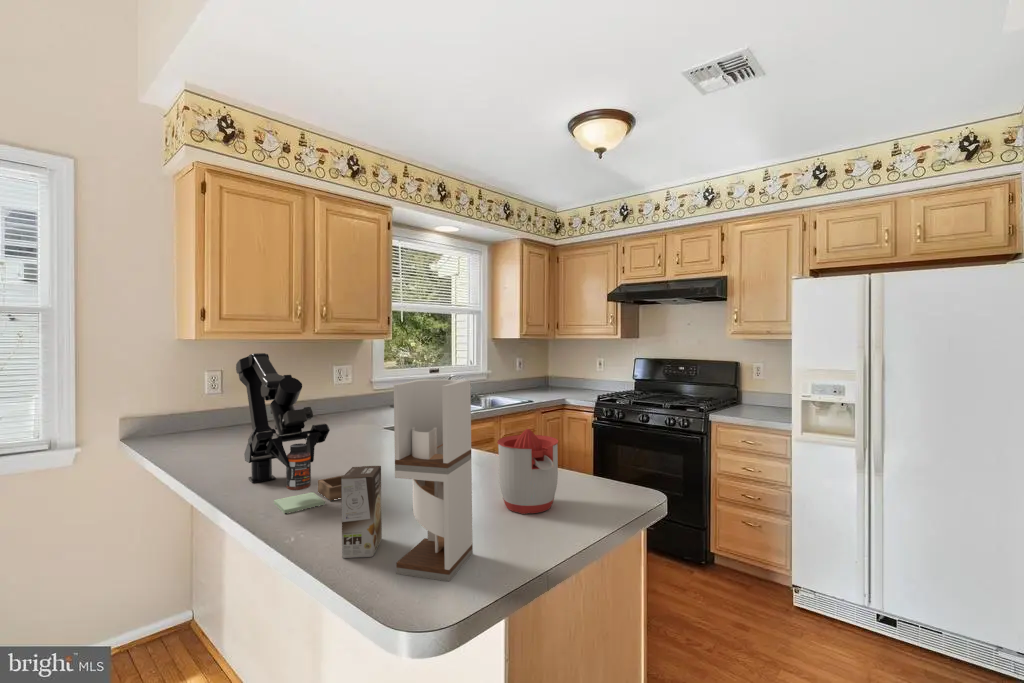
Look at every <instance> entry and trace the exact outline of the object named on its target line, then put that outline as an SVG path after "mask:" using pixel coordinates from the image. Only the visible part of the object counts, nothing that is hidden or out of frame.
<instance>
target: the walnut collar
mask: <svg viewBox="0 0 1024 683" xmlns="http://www.w3.org/2000/svg"><path fill="white" fill-rule="evenodd" d="M344 475H345V474H343V475H338V476H333V477H332V476H331V477H327V478H323V479H317V493H318V492H319V493H320V495H321V494H322V495H323V496H322V495H321V496H322V497H324V496H325V497H326V498H328V499H329V500H330V501H329V500H328V499H327V500H328V501H329V502H332V501H331V500H334V499H338V498H342V487H341V478H342V477H343V476H344ZM319 493H318V494H319ZM325 497H324V498H325ZM326 498H325V499H326ZM334 501H335V500H334Z"/></svg>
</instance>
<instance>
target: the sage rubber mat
mask: <svg viewBox="0 0 1024 683" xmlns="http://www.w3.org/2000/svg"><path fill="white" fill-rule="evenodd" d="M273 504H274V506H276V505H277V506H276V507H277V508H278V509H279V510H280V512H282V513H283V514H284V515H286V514H285V513H287V514H290V513H289V512H292V513H296V512H299V511H298V510H301V511H303V510H302V509H305V510H307V509H306V508H310V509H312V508H311V507H314V508H316V507H315V506H318V507H320V506H319V505H323V506H325V505H326V500H324V499H323V498H322V497H320V496H319V495H318V494H316V493H315V492H313V491H312V492H307V493H302V494H298V495H293V496H287V497H283V498H278V499H274V500H273ZM324 504H325V505H324ZM295 511H296V512H295Z"/></svg>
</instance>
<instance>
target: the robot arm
mask: <svg viewBox="0 0 1024 683" xmlns="http://www.w3.org/2000/svg"><path fill="white" fill-rule="evenodd" d="M235 371H236V373H237V374H238V379H239V381H240V382H241V383H242V384H243V385H244V386H245V387H246V393H247V401H248V407H249V409H248V410H249V415H250V423H251V428H252V430H251V432H250V433H251V434H250V435H249V437H248V439H247V444H246V448H245V451H244V453H243V454H244V456H243V457H244V461H245V462H246V463H248V464H250V463H251V476H248V478H247V480H249V481H250V482H251V483H252V484H255V483H262V482H266V481H272V480H276V476H275V475H273V460H274V459H277V460H278V461H280V463H281V464H283V465H284V466H285V467H288V466H289V461H288V458H287V455H288V454H287V453H286V450H285V447H284V444H283V443H286V442H293V441H299V440H305V444H307V449H306V450H307V452H309V453H310V455H311V463H314V460H315V446H316V445H317V444H318V443H319V444H321V443H323V442H325V441H326V439H327V438H328V435H329V433H330V430H331V429H330V428H329V427H330V426H329V425H328V424H327V423H325V422H324V423H318V424H312V426H311V428H310V430H304V431H303V429H304V428H305V426H306V424H305V423H306V422H308V421H309V420H311V419H312V418H314V412H313V409H312V407H311V406H306V407H305V406H304V407H303V408H301V409H295V406H294V405H295V404H296V403H297V402H298V399H299V396H300V395H301V391H302V388H303V383H302V382H301V381H300V380H299V379H297V378H296V377H292V374H283V375H282V374H279V373H278V372H277V370H276V368H275V366H274V365H273V364H272V362H271V361H270V356H269V354H268V353H263V352H261V353H260V352H258V353H256V352H255V353H252V354H249V355H248V356H245V357H243V358H240V359H239V360H238V361H237V362H236V364H235ZM267 401H271V402H270V404H269V407H270V414H271V415H272V417H273V421H274V424H275V425H274V428H272V427H270V425H269V419H268V412H267V406H266V402H267ZM276 430H277V431H276Z"/></svg>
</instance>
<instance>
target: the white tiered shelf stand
mask: <svg viewBox="0 0 1024 683" xmlns="http://www.w3.org/2000/svg"><path fill="white" fill-rule="evenodd" d="M471 394H472V392H471V380H470V379H427V378H426V379H416V380H412V381H407V382H401V383H396V384H393V425H394V430H393V431H394V434H393V435H394V438H393V439H394V478H395V479H405V480H412V514H413V517H414V518H415V521H416V522H417V523H418V524H419V526H421V527H423V528H424V529H425V530H426V531H427V538H424V537H423V539H422V540H421V541H420V542H419V543H417V544H416V545H415V546H413V547H412V548H411V549H410V550H409V551H408V552H407V553H406V554H405V555H403V557H401V558H400V559H399V560H398V561H397V562H396V564H395V565H396V571H395V572H396V575H403V576H408V577H409V576H410V577H417V578H422V579H423V578H424V579H431V580H437V581H443V582H444V581H445V582H450V581H451V580H452V579H453V578H454V577H455V575H456V574H457V573H458V572H459V571H460V570H461V569H462V567H463V566H464V565H465V564H466V563H467V561H468V560H469V559H470V558H471V556H472V555H473V554H474V552H473V551H474V550H473V549H474V548H473V544H474V543H473V541H474V540H473V539H474V538H473V487H472V486H473V483H472V480H473V479H472V478H473V477H472V475H473V474H472V472H473V470H472V469H473V468H472V410H471V408H472V406H471V405H472V404H471V403H472V402H471V401H472V399H471Z"/></svg>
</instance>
